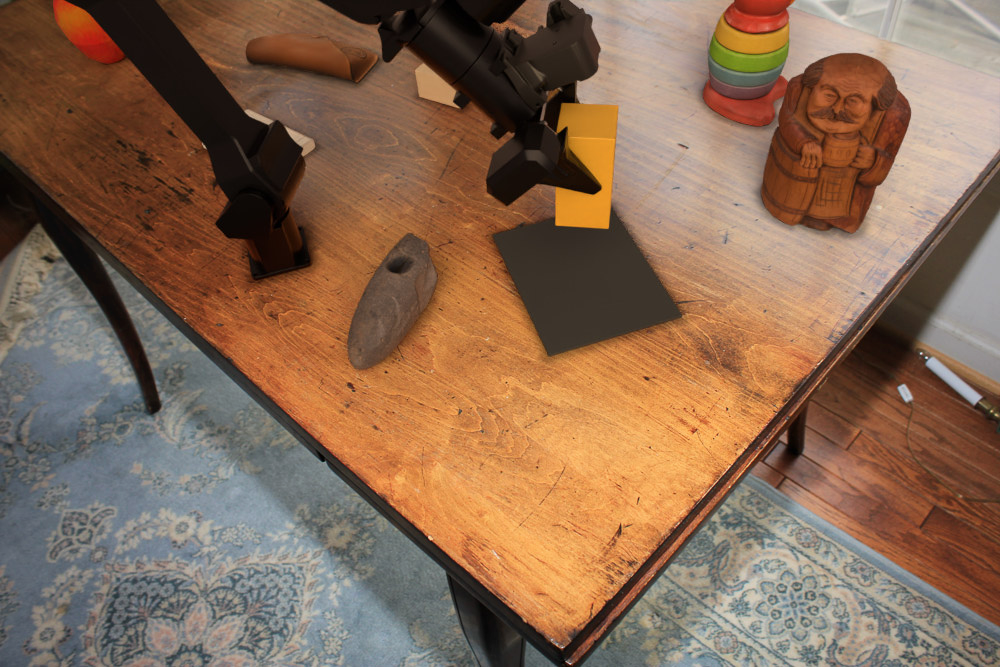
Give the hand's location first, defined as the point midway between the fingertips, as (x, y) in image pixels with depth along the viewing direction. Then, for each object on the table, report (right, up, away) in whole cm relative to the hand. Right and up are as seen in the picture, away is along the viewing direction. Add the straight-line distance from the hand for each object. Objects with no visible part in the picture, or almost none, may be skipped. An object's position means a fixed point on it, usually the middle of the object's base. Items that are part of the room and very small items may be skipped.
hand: (600, 172), depth 67 cm
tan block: (-15, +19, +34) cm, 42 cm away
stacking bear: (+22, +16, +29) cm, 40 cm away
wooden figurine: (+25, -1, +15) cm, 29 cm away
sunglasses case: (-36, +25, +41) cm, 60 cm away
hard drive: (-40, +9, +29) cm, 50 cm away
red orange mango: (-68, +27, +46) cm, 86 cm away
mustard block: (-1, -3, +4) cm, 5 cm away
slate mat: (-1, -8, +11) cm, 13 cm away
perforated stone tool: (-19, -14, +8) cm, 25 cm away
